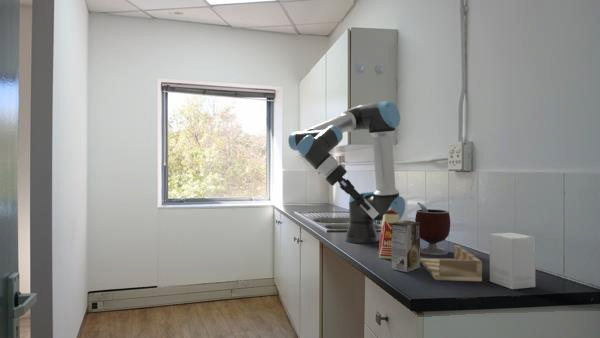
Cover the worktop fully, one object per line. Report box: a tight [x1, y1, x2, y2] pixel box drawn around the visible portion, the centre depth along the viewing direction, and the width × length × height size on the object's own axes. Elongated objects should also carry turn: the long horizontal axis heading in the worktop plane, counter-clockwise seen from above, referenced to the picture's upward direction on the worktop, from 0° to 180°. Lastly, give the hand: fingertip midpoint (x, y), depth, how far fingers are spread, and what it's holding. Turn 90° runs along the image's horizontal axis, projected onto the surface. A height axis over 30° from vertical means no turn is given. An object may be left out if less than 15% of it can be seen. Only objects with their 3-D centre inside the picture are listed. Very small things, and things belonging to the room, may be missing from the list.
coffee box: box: [391, 220, 421, 273], centre depth 134 cm, size 9×6×16 cm
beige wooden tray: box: [420, 245, 483, 282], centre depth 131 cm, size 24×14×6 cm, turn 174°
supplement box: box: [489, 232, 536, 290], centre depth 116 cm, size 9×9×15 cm
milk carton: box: [378, 207, 400, 260], centre depth 152 cm, size 9×9×20 cm
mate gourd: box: [414, 201, 451, 256], centre depth 161 cm, size 16×14×20 cm
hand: (374, 214), depth 135 cm, fingers open, 13 cm apart
